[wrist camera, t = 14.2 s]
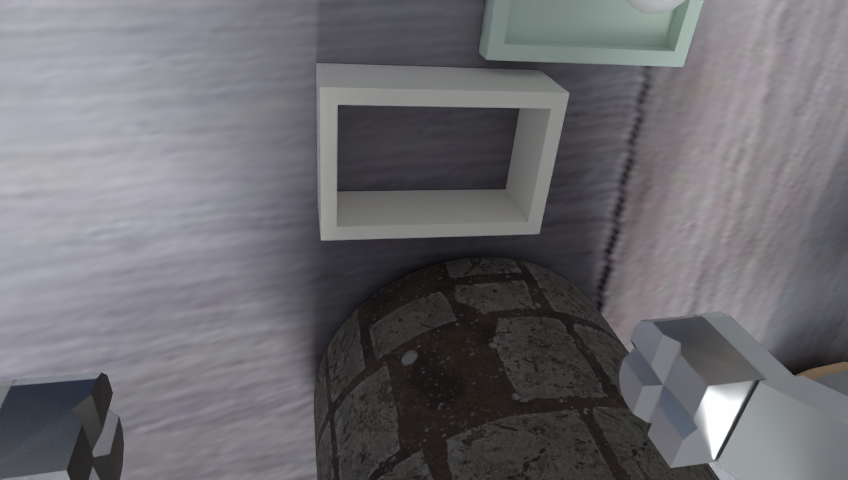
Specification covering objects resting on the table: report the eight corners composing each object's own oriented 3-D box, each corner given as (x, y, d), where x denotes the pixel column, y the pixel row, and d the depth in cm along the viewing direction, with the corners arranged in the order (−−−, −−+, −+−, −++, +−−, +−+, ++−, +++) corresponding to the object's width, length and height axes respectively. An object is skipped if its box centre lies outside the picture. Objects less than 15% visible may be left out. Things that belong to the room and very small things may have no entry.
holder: (317, 204, 42) (320, 240, 38) (316, 62, 37) (319, 87, 32) (515, 200, 45) (539, 234, 41) (540, 70, 40) (569, 92, 36)
